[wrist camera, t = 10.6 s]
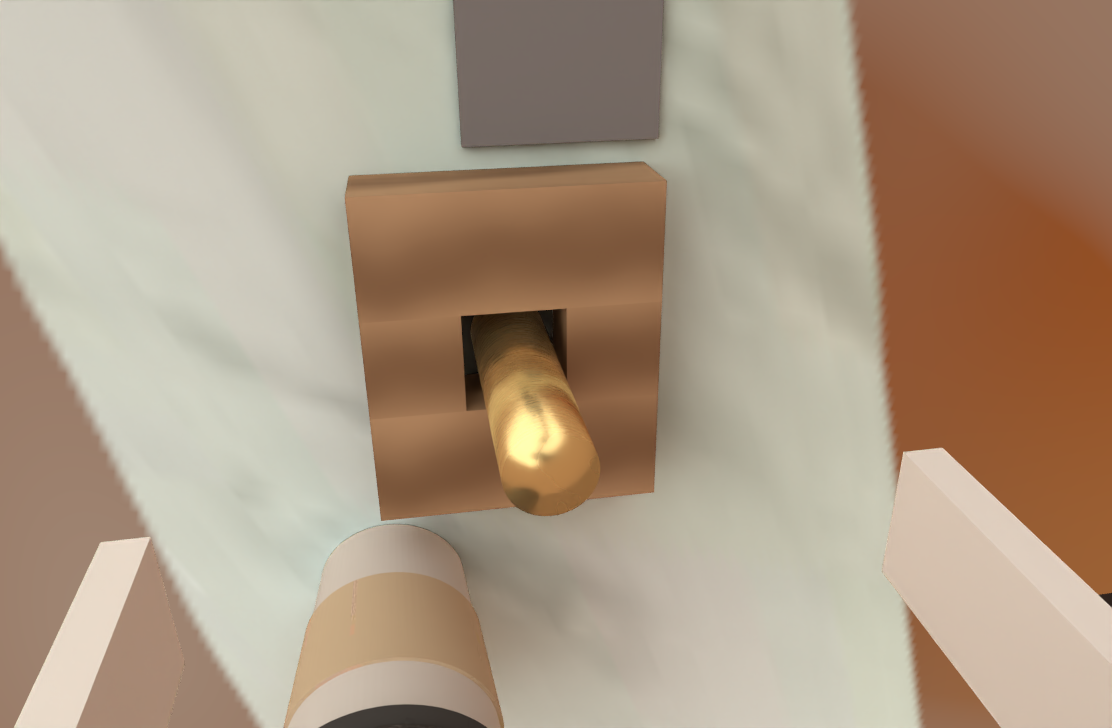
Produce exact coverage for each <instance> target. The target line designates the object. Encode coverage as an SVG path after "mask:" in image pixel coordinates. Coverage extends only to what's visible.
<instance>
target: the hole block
mask: <svg viewBox="0 0 1112 728" xmlns="http://www.w3.org/2000/svg"><path fill="white" fill-rule="evenodd" d="M666 189H667V181H666V180H665V179H664V178H663V177H661V176H660V175H659V174H658V173H657V172H655V171H654V170H653V169H652V168H651V167H649V166H648V165H647V164H646V163H644V162H625V163H604V164H583V165H563V166H542V167H521V168H501V169H480V170H459V171H438V172H418V173H397V174H376V175H356V176H349V178H348V183H347V188H346V194H345V204H346V213H347V221H348V230H349V239H350V248H351V257H352V266H353V275H354V283H355V292H356V301H357V310H358V319H359V328H360V336H361V345H362V354H363V363H364V372H365V381H366V390H367V398H368V407H369V416H370V425H371V434H372V443H373V452H374V460H375V469H376V478H377V487H378V496H379V505H380V514H381V521H384V520H394V519H403V518H413V517H422V516H432V515H441V514H451V513H461V512H470V511H480V510H489V509H499V508H508V507H516V506H515V505H514V504H513V503H512V502H511V501H510V500H509V499H508V497H507V496H506V494H505V492H504V489H503V486H502V482H501V477H500V472H499V467H498V463H497V458H496V453H495V448H494V444H493V439H492V434H491V429H490V425H489V420H488V415H487V410H486V406H485V401H484V396H483V391H482V387H481V382H480V377H479V374H467V375H464V361H463V344H462V328H461V316H469V315H483V314H496V313H510V312H524V311H538V310H552V309H553V348H554V350H555V353H556V355H557V358H558V360H559V362H560V365H561V367H562V370H563V372H564V375H565V377H566V379H567V382H568V384H569V387H570V389H571V391H572V394H573V396H574V399H575V401H576V404H577V406H578V408H579V411H580V413H581V416H582V418H583V421H584V423H585V425H586V428H587V430H588V433H589V435H590V437H591V440H592V442H593V445H594V447H595V450H596V452H597V455H598V457H599V461H600V476H599V480H598V483H597V486H596V487H595V489H594V491H593V492H592V494H591V495H590V496H589V497H588V498H587V499H594V498H604V497H613V496H623V495H632V494H642V493H651V492H654V477H655V453H656V429H657V405H658V381H659V357H660V333H661V309H662V285H663V261H664V237H665V213H666Z"/></svg>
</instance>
